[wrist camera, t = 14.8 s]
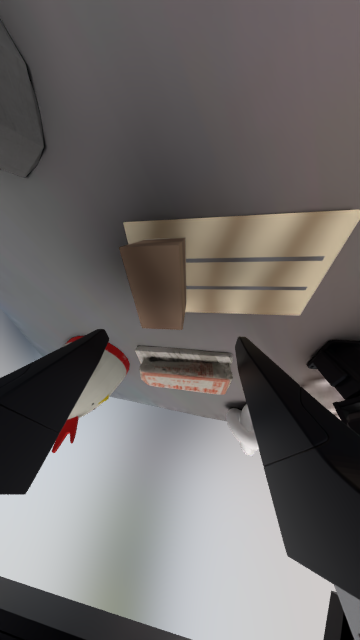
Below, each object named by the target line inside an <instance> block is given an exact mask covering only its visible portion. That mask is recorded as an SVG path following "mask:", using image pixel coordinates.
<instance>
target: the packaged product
mask: <svg viewBox="0 0 360 640" xmlns="http://www.w3.org/2000/svg"><path fill="white" fill-rule="evenodd" d="M135 351H136V354H137V356H138V359H139V361H140V363H141V366H140V368H139V370H140V375H141V379H142V380H143V381H144V382H145V383H146V384H148V385H150V386H156V387H165V388H171V389H179V390H187V391H195V392H203V393H210V394H225V393H226V391H227V389H228V387H229V385H230V384H231V381H232V379H233V377H232V372H231V369H230V366H231V363H232V361H233V356H232V354H231V353H220V352H209V351H200V350H189V349H178V348H166V347H149V346H138V347H137V348H136V350H135Z"/></svg>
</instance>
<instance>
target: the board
mask: <svg viewBox="0 0 360 640" xmlns="http://www.w3.org/2000/svg"><path fill="white" fill-rule="evenodd" d="M359 220H360V210H342V211H324V212H305V213H287V214H268V215H249V216H231V217H212V218H194V219H175V220H156V221H138V222H123V224H124V228H125V232H126V236H127V241H128V244H132V243H135V242H138V241H142V240H145V239H162V238H185V237H186V289H187V303H186V310H185V312H202V313H236V314H269V315H300V314H301V313H302V311H303V310H304V308H305V306H306V305H307V303H308V302H309V300H310V298H311V297H312V295H313V294H314V292H315V290H316V289H317V287H318V285H319V284H320V282H321V281H322V279H323V277H324V276H325V274H326V273H327V271H328V269H329V268H330V266H331V265H332V263H333V261H334V260H335V258H336V257H337V255H338V253H339V252H340V250H341V249H342V247H343V245H344V244H345V242H346V240H347V239H348V237H349V236H350V234H351V232H352V231H353V229H354V228H355V226H356V224H357V223H358V221H359Z"/></svg>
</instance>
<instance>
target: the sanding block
mask: <svg viewBox="0 0 360 640" xmlns="http://www.w3.org/2000/svg"><path fill="white" fill-rule="evenodd" d="M119 250H120V253H121V257H122V260H123V263H124V267H125V270H126V274H127V277H128V281H129V284H130V288H131V291H132V295H133V298H134V302H135V305H136V309H137V312H138V316H139V319H140V323H141V326H142V328H152V329H176V330H182V329H183V323H184V316H185V310H186V303H187V289H186V237H185V238H162V239H145V240H142V241H138V242H135V243H132V244H128V245H125V246H122V247H119Z"/></svg>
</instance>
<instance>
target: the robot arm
mask: <svg viewBox="0 0 360 640" xmlns="http://www.w3.org/2000/svg"><path fill="white" fill-rule="evenodd" d="M108 341H109V337H108V335H107V333H106V331H105V330H104V329H97V330H95V331H93V332H91V333H89V334H87V335H85V336H83V337H81V338H79V339H77V340H75V341H73V342H71V343H69V344H68V345H66V346H64V347H62V348H60V349H58V350H56V351H54V352H52V353H50V354H48V355H46V356H44V357H42V358H40V359H38V360H36V361H34V362H32V363H30V364H28V365H26V366H24V367H22V368H20V369H18V370H16V371H14V372H12V373H10V374H8V375H6V376H4V377H2V378H0V494H26V492H27V491H28V489H29V487H30V486H31V484H32V482H33V480H34V479H35V477H36V475H37V473H38V471H39V470H40V468H41V466H42V464H43V462H44V461H45V459H46V457H47V455H48V453H49V452H50V450H51V448H52V446H53V444H54V443H55V441H56V439H57V437H58V435H59V434H60V432H61V430H62V428H63V426H64V424H65V423H66V421H67V419H68V417H69V416H70V414H71V412H72V410H73V408H74V407H75V405H76V403H77V401H78V399H79V398H80V396H81V394H82V392H83V390H84V389H85V387H86V385H87V383H88V381H89V380H90V378H91V376H92V374H93V372H94V371H95V369H96V367H97V365H98V364H99V362H100V360H101V358H102V355H103V353H104V351H105V348H106V346H107V344H108ZM235 351H236V358H237V365H238V371H239V376H240V380H241V383H242V387H243V391H244V395H245V398H246V402H247V406H248V410H249V413H250V417H251V421H252V425H253V428H254V432H255V436H256V440H257V444H258V447H259V451H260V455H261V458H262V462H263V466H264V470H265V474H266V478H267V482H268V485H269V489H270V493H271V496H272V500H273V504H274V508H275V511H276V515H277V519H278V523H279V527H280V531H281V534H282V538H283V542H284V546H285V549H286V552H287V555H288V557H290V558H292V559H293V560H295V561H297V562H299V563H300V564H302V565H303V566H305V567H306V568H308V569H310V570H311V571H313V572H315V573H316V574H318V575H319V576H321V577H323V578H324V579H326V580H328V581H329V582H331V583H332V584H334V586H335V589H336V591H337V592H334V591H331V597H330V603H329V609H328V615H327V621H326V627H325V634H324V640H360V341H342V340H331V341H329V342H328V343H327V344H326V345H325V346H324V347H323V348H322V349H321V350H320V351H319V352H318V353H317V355H316V356H315V357H314V358H313V359H312V360H311V361H310V362H309V363H308V364H307V366H308V368H310V369H318V370H319V371H320V373H321V374H322V375H323V376H324V377H325V379H326V380H327V381H328V382H329V384H330V385H331V386H333V387H335V388H336V390H337V391H338V392H339V393H340V394H341V396H342V397H343V398H344V399H345V400H344V401H341V402H334V403H333V405H334V407H335V409H336V412H337V413H338V415H339V417H340V419H341V420H340V419H338V418H337V417H336V416H335V415H334V414H332V413H331V412H330V411H329V410H327V409H326V408H325V407H324V406H323V405H321V404H320V403H319V402H318V401H317V400H316V399H315V398H313V397H312V396H311V395H310V394H309V393H308V392H307V391H306V390H304V389H303V388H302V387H300V385H299V384H298V383H297V382H295V381H294V380H293V379H292V378H291V377H290V376H289V375H288V374H286V373H285V372H284V371H283V370H282V369H281V368H280V367H279V366H278V365H276V364H275V363H274V362H273V361H272V360H271V359H270V358H269V357H268V356H266V355H265V354H264V353H263V352H262V351H261V350H260V349H259V348H258V347H256V346H255V345H254V344H253V343H252V342H251V341H250V340H249V339H247V338H246V337H238V339H237V342H236V345H235ZM0 640H191V639H188V638H185V637H182V636H179V635H176V634H173V633H170V632H167V631H164V630H161V629H157V628H155V627H152V626H149V625H146V624H142V623H140V622H136V621H133V620H131V619H128V618H124V617H121V616H118V615H115V614H112V613H109V612H106V611H103V610H100V609H97V608H94V607H91V606H88V605H85V604H82V603H79V602H76V601H73V600H70V599H67V598H64V597H61V596H58V595H55V594H52V593H49V592H45V591H43V590H40V589H36V588H34V587H30V586H27V585H25V584H22V583H19V582H16V581H12V580H10V579H6V578H4V577H0Z"/></svg>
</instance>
